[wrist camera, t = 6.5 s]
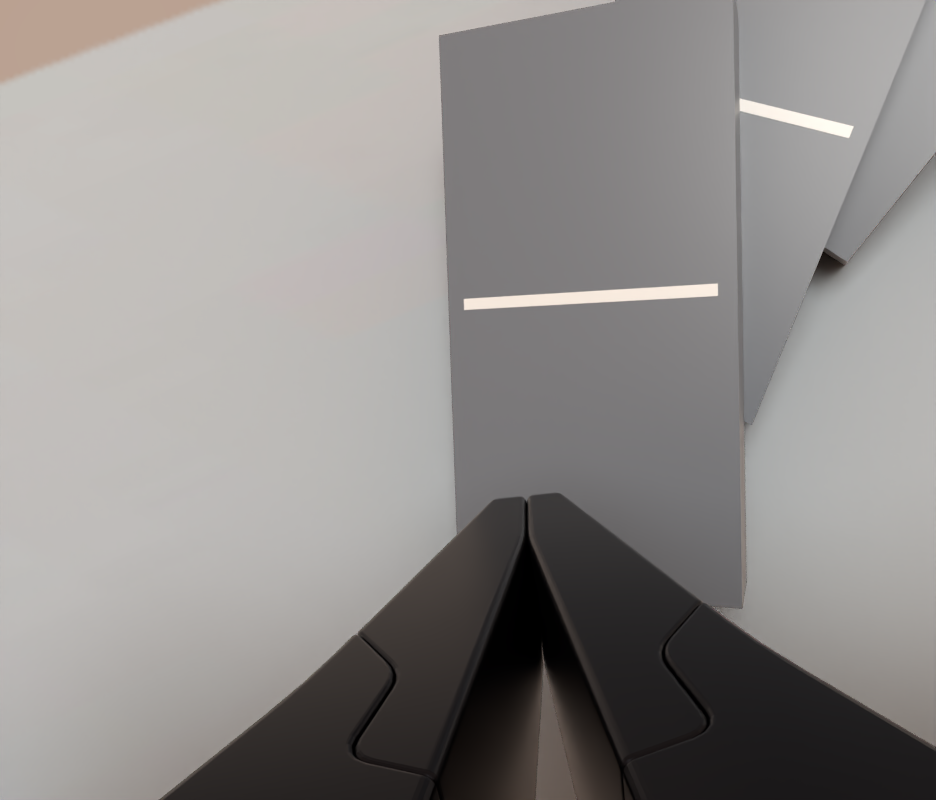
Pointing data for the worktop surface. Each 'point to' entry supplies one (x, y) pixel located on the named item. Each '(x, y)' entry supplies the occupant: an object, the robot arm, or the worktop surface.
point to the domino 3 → (893, 143)
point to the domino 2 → (802, 146)
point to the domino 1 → (602, 275)
